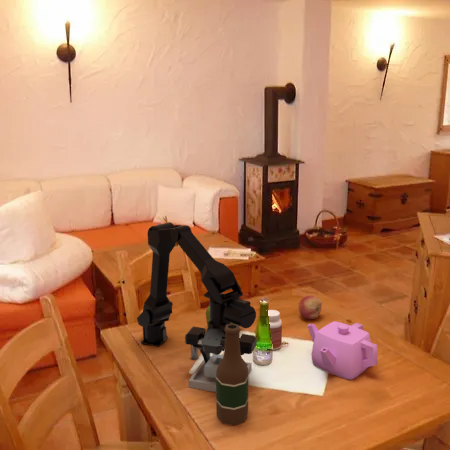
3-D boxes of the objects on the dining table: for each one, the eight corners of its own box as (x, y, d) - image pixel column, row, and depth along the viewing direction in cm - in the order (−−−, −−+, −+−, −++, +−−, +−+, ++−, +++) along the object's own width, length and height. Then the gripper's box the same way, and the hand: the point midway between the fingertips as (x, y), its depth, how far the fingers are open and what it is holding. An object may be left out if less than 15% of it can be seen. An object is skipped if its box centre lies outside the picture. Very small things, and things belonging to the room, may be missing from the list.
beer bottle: (215, 407, 129) (214, 319, 122) (246, 405, 129) (246, 318, 123) (217, 427, 121) (216, 334, 115) (250, 425, 122) (251, 333, 116)
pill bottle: (285, 347, 158) (286, 314, 155) (269, 352, 155) (270, 319, 152) (273, 339, 163) (273, 306, 160) (257, 344, 160) (257, 311, 157)
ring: (229, 380, 137) (229, 370, 136) (204, 376, 139) (204, 366, 138) (238, 364, 145) (238, 354, 144) (215, 360, 147) (215, 350, 146)
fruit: (305, 324, 173) (306, 302, 171) (294, 315, 180) (294, 294, 178) (325, 320, 175) (326, 299, 173) (313, 311, 182) (314, 290, 180)
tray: (188, 387, 137) (188, 380, 137) (206, 362, 150) (206, 355, 149) (237, 396, 133) (237, 389, 133) (251, 369, 146) (251, 363, 145)
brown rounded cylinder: (189, 359, 152) (189, 345, 150) (192, 355, 154) (192, 341, 152) (196, 360, 151) (196, 346, 150) (199, 356, 153) (199, 342, 152)
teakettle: (379, 380, 140) (383, 339, 137) (318, 382, 140) (320, 341, 136) (360, 349, 157) (363, 312, 153) (305, 351, 156) (306, 313, 153)
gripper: (176, 323, 132) (177, 377, 136) (245, 334, 126) (245, 390, 131) (192, 306, 142) (193, 357, 146) (257, 315, 137) (256, 367, 141)
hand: (220, 367), depth 141 cm, fingers open, 7 cm apart
